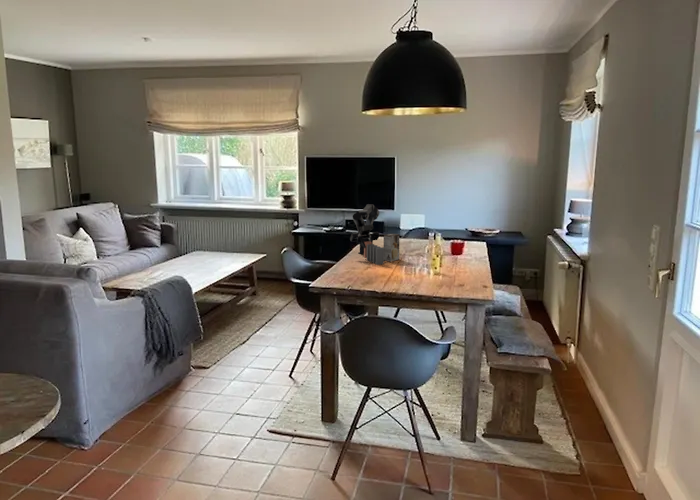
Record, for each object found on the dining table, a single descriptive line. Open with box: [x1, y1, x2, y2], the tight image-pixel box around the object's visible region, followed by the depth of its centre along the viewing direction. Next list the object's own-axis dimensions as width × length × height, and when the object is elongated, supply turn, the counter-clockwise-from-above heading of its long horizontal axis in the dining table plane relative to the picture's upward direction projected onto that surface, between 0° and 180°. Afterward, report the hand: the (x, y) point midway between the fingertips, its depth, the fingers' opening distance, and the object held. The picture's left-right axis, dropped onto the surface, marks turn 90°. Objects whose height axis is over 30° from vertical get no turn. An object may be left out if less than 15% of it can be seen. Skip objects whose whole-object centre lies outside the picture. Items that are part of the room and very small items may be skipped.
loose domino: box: [363, 241, 372, 259], centre depth 341 cm, size 2×4×10 cm, turn 112°
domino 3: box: [372, 245, 381, 264], centre depth 329 cm, size 2×4×10 cm, turn 112°
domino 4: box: [375, 246, 385, 266], centre depth 325 cm, size 2×4×10 cm, turn 112°
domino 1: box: [366, 243, 375, 262], centre depth 337 cm, size 2×4×10 cm, turn 112°
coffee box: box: [383, 233, 400, 262], centre depth 337 cm, size 9×6×16 cm
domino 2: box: [369, 244, 378, 263], centre depth 333 cm, size 2×4×10 cm, turn 112°
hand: (368, 247), depth 339 cm, fingers closed on loose domino, 4 cm apart
